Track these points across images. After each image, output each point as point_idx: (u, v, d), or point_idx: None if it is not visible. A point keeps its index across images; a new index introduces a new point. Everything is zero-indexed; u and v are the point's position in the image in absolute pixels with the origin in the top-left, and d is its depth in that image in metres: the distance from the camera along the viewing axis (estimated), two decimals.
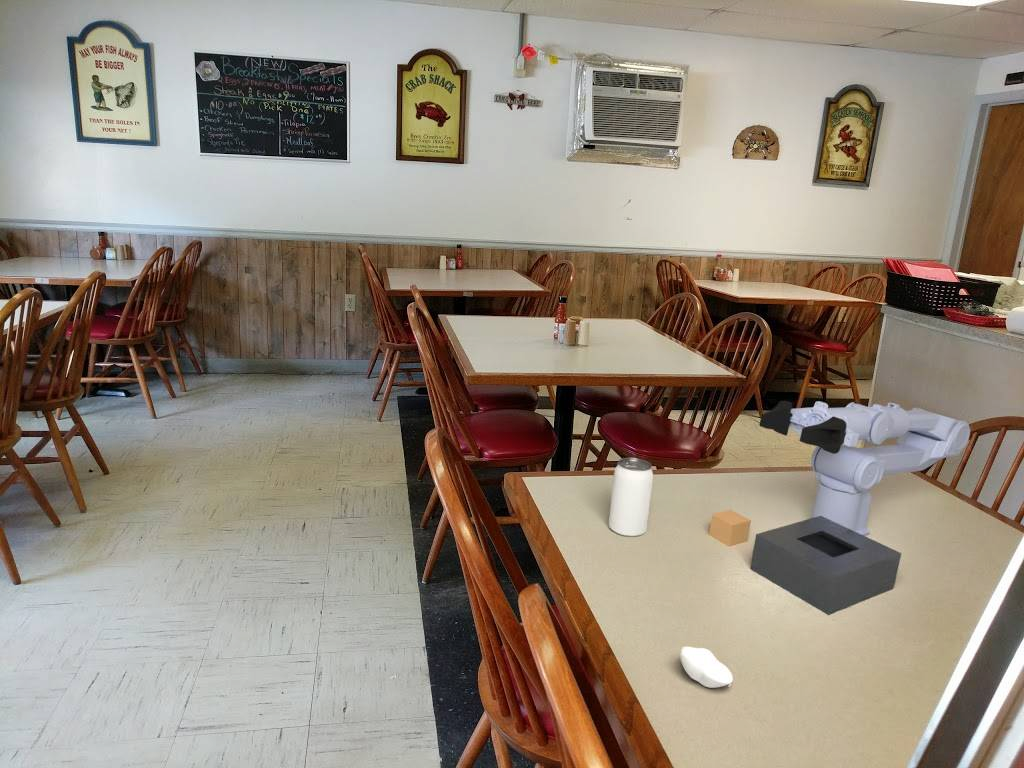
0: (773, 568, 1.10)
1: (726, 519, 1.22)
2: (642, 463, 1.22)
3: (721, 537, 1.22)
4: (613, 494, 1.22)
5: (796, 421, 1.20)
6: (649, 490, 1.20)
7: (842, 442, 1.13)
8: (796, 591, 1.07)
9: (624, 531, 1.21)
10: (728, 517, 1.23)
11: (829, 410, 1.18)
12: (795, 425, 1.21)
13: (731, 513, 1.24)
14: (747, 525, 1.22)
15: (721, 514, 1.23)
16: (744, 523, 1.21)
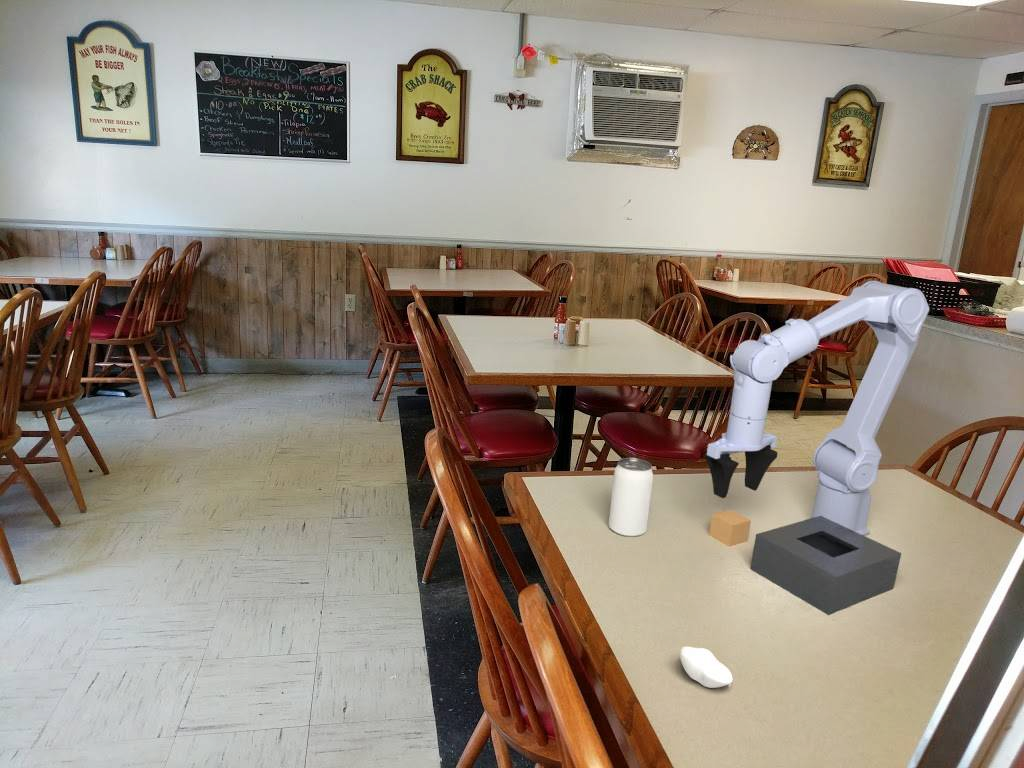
0: (773, 568, 1.10)
1: (726, 519, 1.22)
2: (642, 463, 1.22)
3: (721, 537, 1.22)
4: (613, 494, 1.22)
5: None
6: (649, 490, 1.20)
7: (718, 459, 1.16)
8: (796, 591, 1.07)
9: (624, 531, 1.21)
10: (728, 517, 1.23)
11: None
12: None
13: (731, 513, 1.24)
14: (747, 525, 1.22)
15: (721, 514, 1.23)
16: (744, 523, 1.21)
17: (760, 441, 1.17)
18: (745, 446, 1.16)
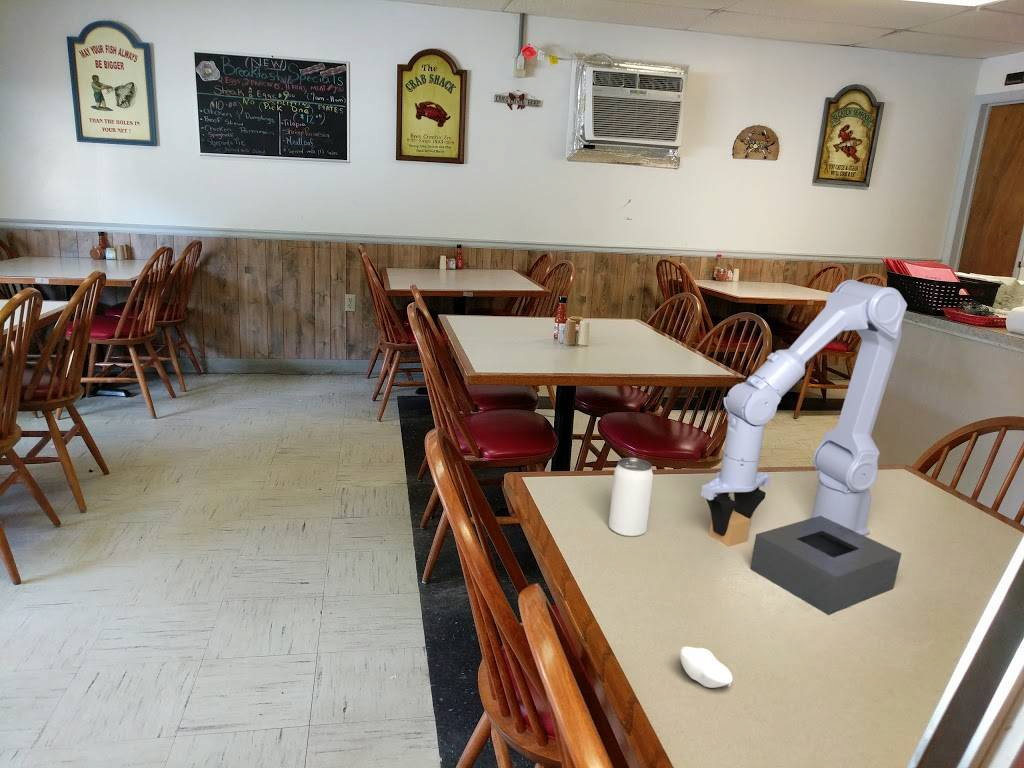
0: (773, 568, 1.10)
1: None
2: (642, 463, 1.22)
3: (721, 536, 1.22)
4: (613, 494, 1.22)
5: None
6: (649, 490, 1.20)
7: (718, 498, 1.18)
8: (796, 591, 1.07)
9: (624, 531, 1.21)
10: None
11: None
12: None
13: None
14: (747, 524, 1.22)
15: None
16: (744, 522, 1.21)
17: (753, 482, 1.19)
18: (738, 487, 1.18)
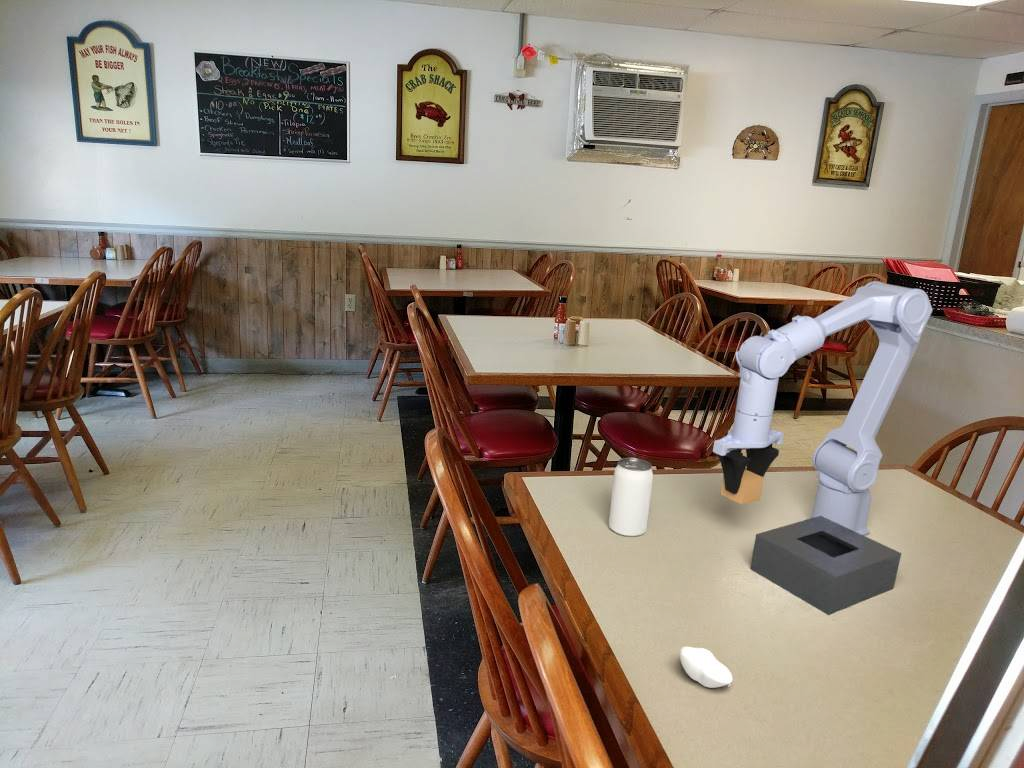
0: (773, 568, 1.10)
1: None
2: (642, 463, 1.22)
3: (734, 494, 1.19)
4: (613, 494, 1.22)
5: None
6: (649, 490, 1.20)
7: (730, 454, 1.16)
8: (796, 591, 1.07)
9: (624, 531, 1.21)
10: None
11: None
12: None
13: None
14: (760, 482, 1.19)
15: None
16: (757, 480, 1.18)
17: (766, 438, 1.16)
18: (751, 443, 1.15)
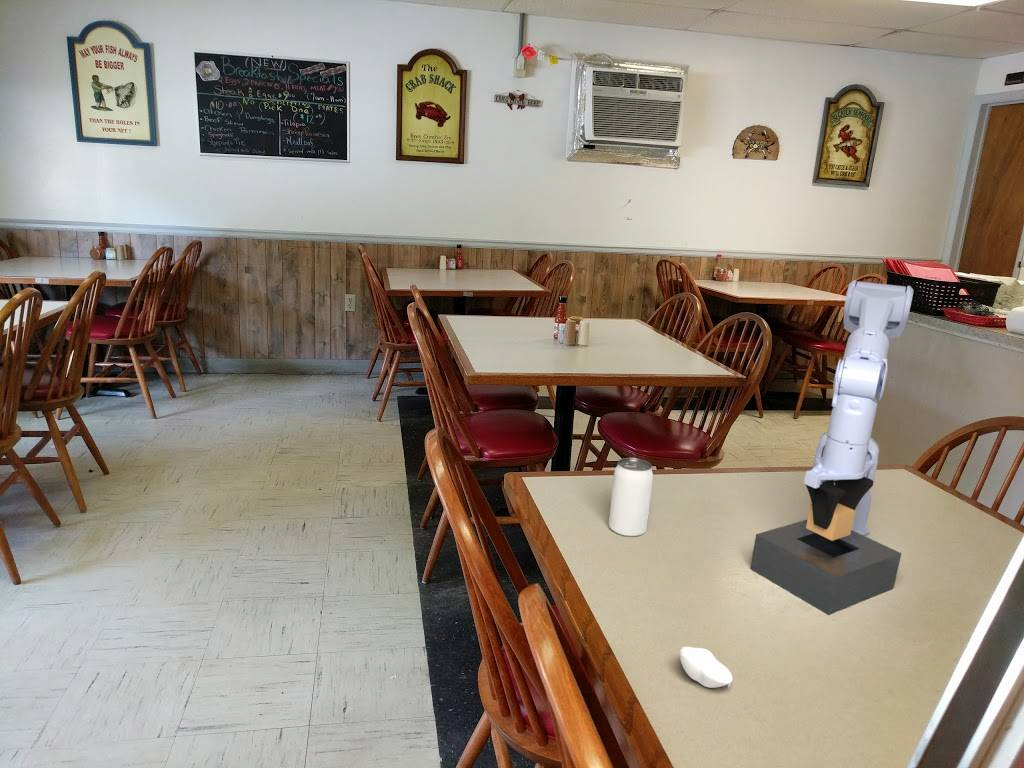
0: (773, 568, 1.10)
1: None
2: (642, 463, 1.22)
3: (822, 529, 1.09)
4: (613, 494, 1.22)
5: None
6: (649, 490, 1.20)
7: (823, 486, 1.05)
8: (796, 591, 1.07)
9: (624, 531, 1.21)
10: None
11: None
12: None
13: None
14: (851, 516, 1.09)
15: None
16: (848, 513, 1.08)
17: (862, 468, 1.05)
18: (847, 474, 1.04)
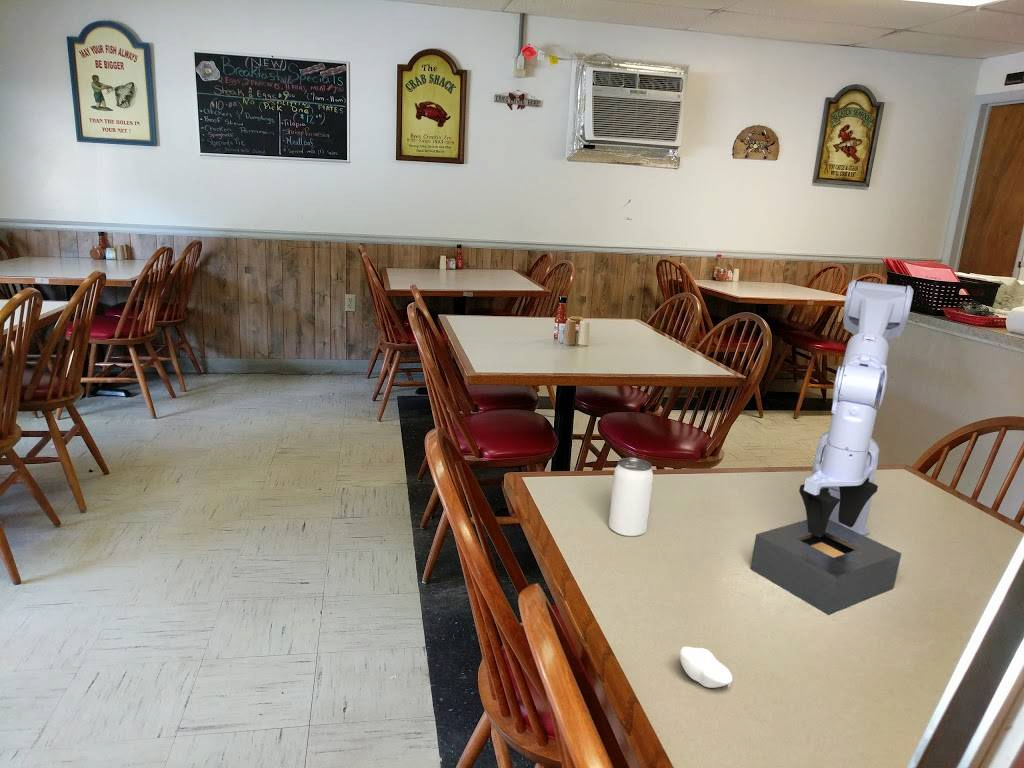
0: (773, 568, 1.10)
1: None
2: (642, 463, 1.22)
3: None
4: (613, 494, 1.22)
5: None
6: (649, 490, 1.20)
7: (817, 495, 1.04)
8: (796, 591, 1.07)
9: (624, 531, 1.21)
10: (821, 551, 1.11)
11: None
12: None
13: (823, 546, 1.13)
14: None
15: None
16: None
17: (862, 475, 1.06)
18: (846, 480, 1.05)
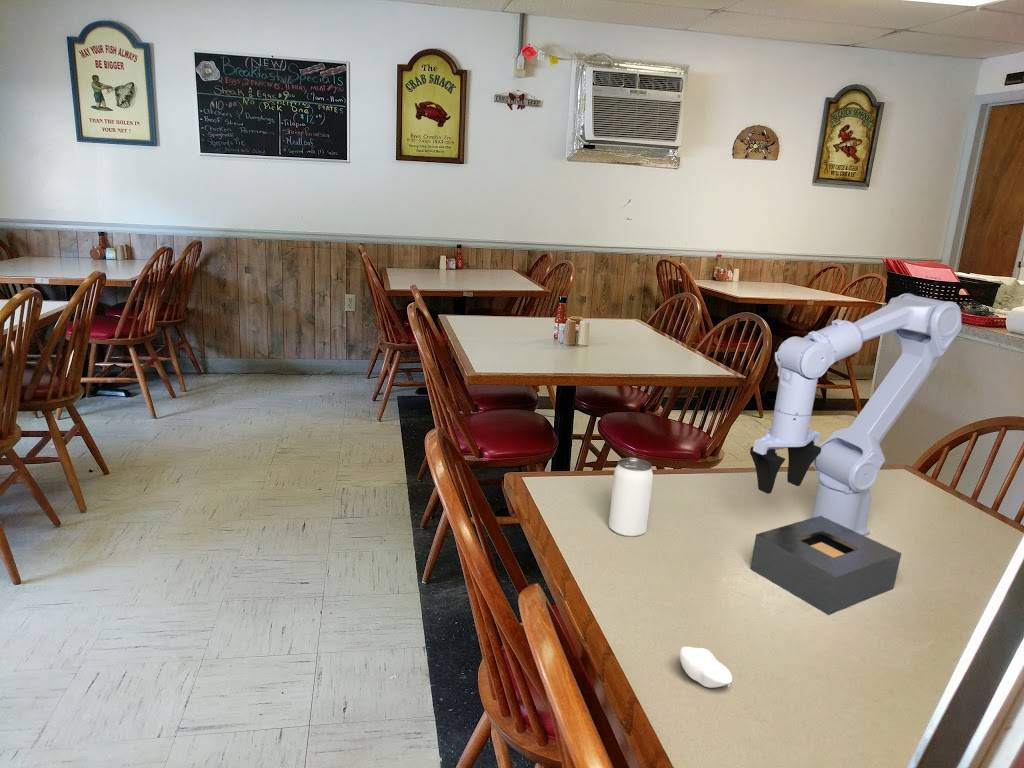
0: (773, 568, 1.10)
1: None
2: (642, 463, 1.22)
3: None
4: (613, 494, 1.22)
5: None
6: (649, 490, 1.20)
7: (765, 454, 1.17)
8: (796, 591, 1.07)
9: (624, 531, 1.21)
10: (821, 551, 1.11)
11: None
12: None
13: (823, 546, 1.13)
14: None
15: None
16: None
17: (805, 437, 1.18)
18: (791, 442, 1.17)
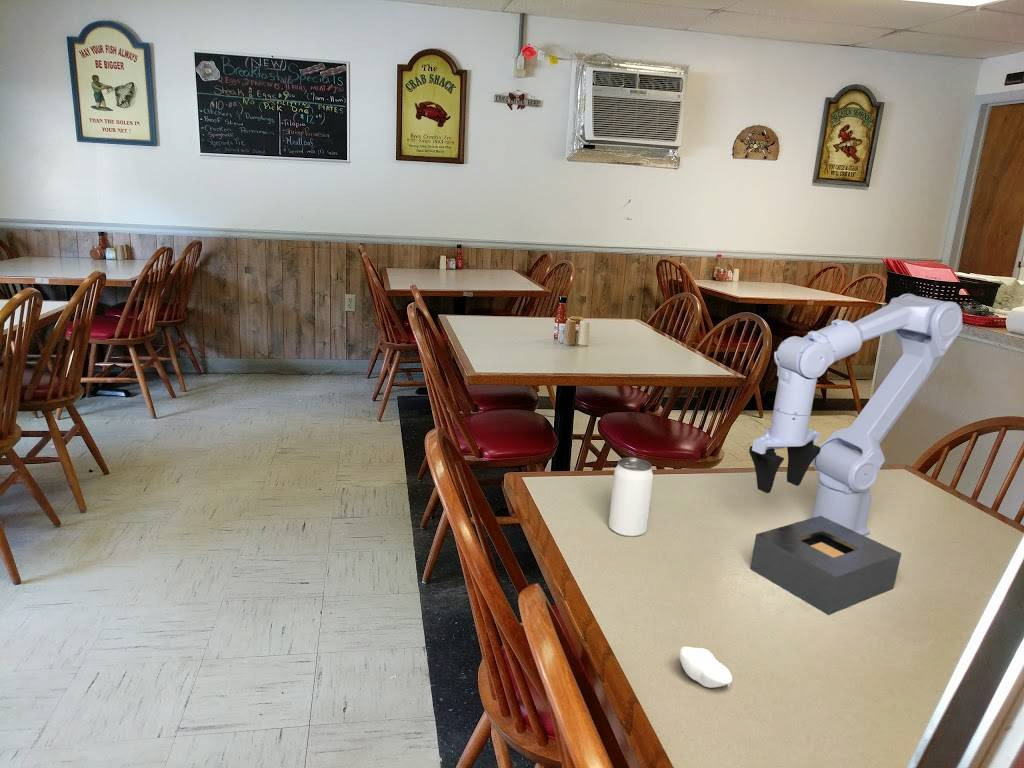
0: (773, 568, 1.10)
1: None
2: (642, 463, 1.22)
3: None
4: (613, 494, 1.22)
5: None
6: (649, 490, 1.20)
7: (764, 454, 1.17)
8: (796, 591, 1.07)
9: (624, 531, 1.21)
10: (821, 551, 1.11)
11: None
12: None
13: (823, 546, 1.13)
14: None
15: None
16: None
17: (805, 436, 1.18)
18: (790, 441, 1.17)
